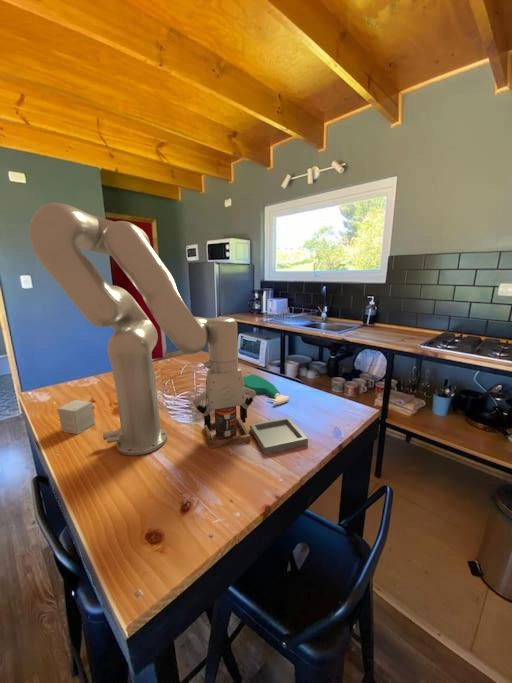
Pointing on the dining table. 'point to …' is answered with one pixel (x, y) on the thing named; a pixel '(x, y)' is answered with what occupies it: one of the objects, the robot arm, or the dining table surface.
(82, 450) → the dining table surface
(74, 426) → the product box
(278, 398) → the spray bottle
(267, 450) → the tray
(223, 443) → the holder
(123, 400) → the robot arm
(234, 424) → the supplement bottle
